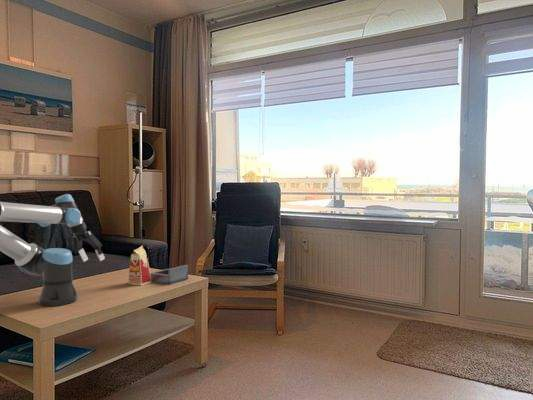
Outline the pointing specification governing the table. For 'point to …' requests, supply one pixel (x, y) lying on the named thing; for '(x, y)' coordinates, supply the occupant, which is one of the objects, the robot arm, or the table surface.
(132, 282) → the milk carton
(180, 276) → the rack bay
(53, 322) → the table surface
